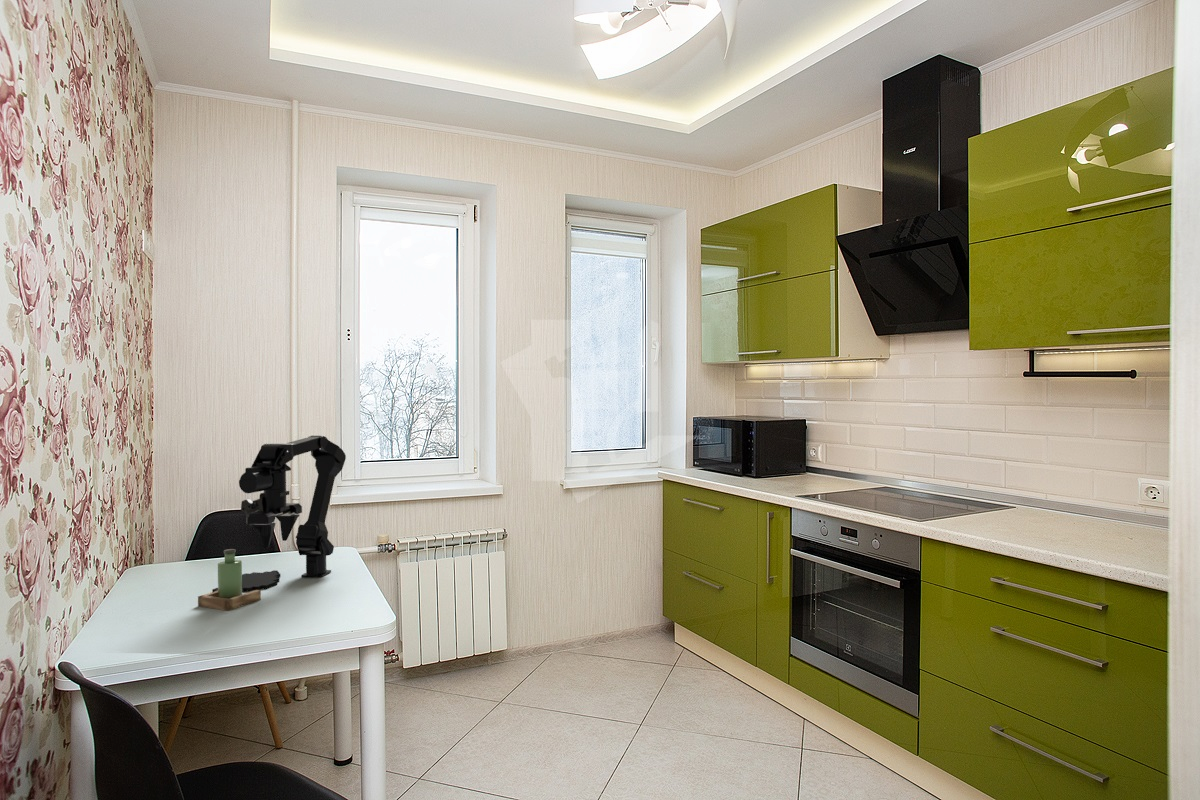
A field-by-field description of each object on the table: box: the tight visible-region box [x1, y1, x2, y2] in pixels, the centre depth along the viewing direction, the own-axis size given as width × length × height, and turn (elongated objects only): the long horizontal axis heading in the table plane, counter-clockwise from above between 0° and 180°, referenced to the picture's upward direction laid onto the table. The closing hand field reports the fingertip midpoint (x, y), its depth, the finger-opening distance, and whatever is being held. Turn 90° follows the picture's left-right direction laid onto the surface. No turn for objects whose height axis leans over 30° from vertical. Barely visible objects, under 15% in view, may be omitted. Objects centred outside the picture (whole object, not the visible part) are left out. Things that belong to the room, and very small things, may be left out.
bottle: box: [217, 548, 243, 599], centre depth 183 cm, size 6×6×13 cm
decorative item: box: [211, 569, 281, 593], centre depth 202 cm, size 23×2×20 cm
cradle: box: [197, 589, 262, 612], centre depth 183 cm, size 10×11×2 cm
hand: (275, 544), depth 195 cm, fingers open, 9 cm apart
